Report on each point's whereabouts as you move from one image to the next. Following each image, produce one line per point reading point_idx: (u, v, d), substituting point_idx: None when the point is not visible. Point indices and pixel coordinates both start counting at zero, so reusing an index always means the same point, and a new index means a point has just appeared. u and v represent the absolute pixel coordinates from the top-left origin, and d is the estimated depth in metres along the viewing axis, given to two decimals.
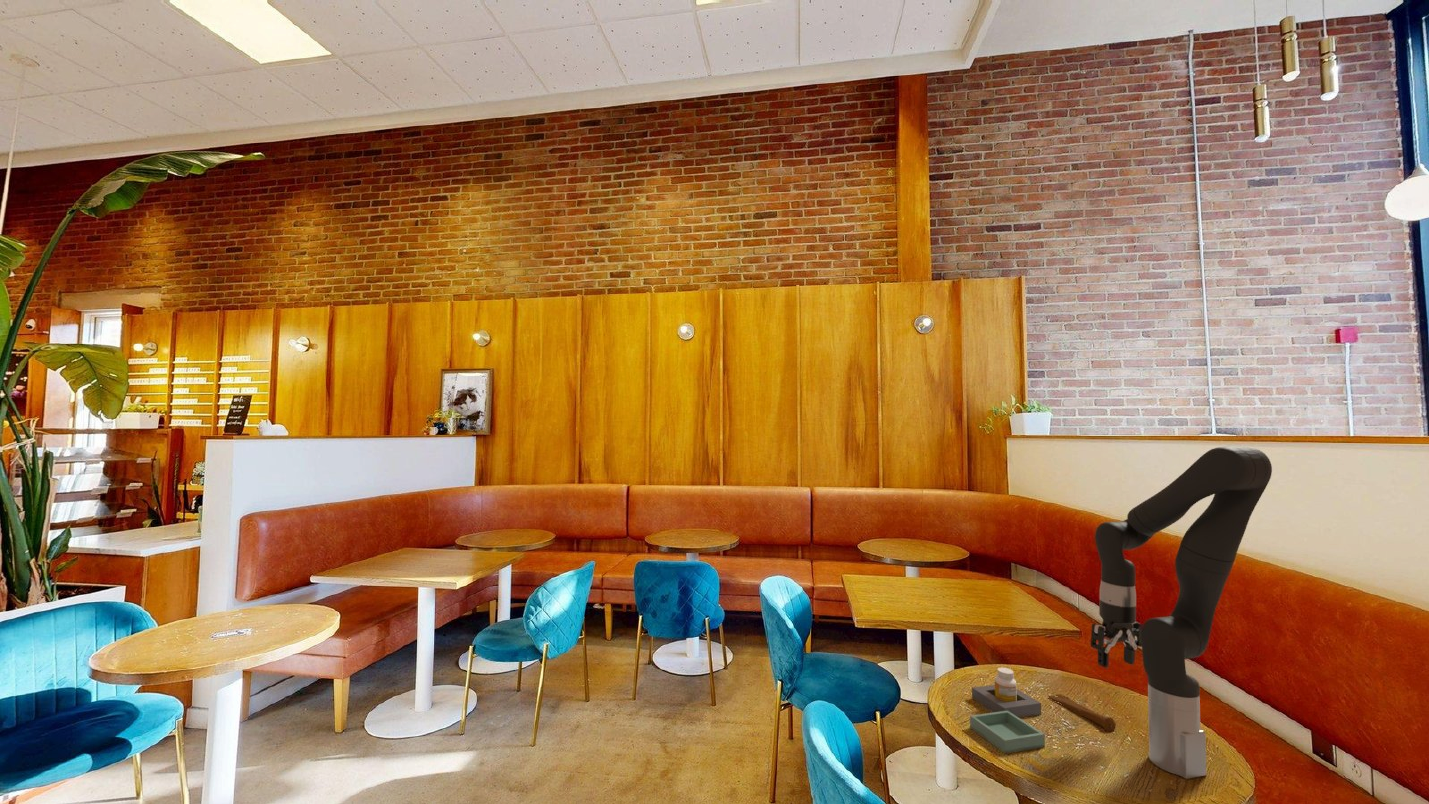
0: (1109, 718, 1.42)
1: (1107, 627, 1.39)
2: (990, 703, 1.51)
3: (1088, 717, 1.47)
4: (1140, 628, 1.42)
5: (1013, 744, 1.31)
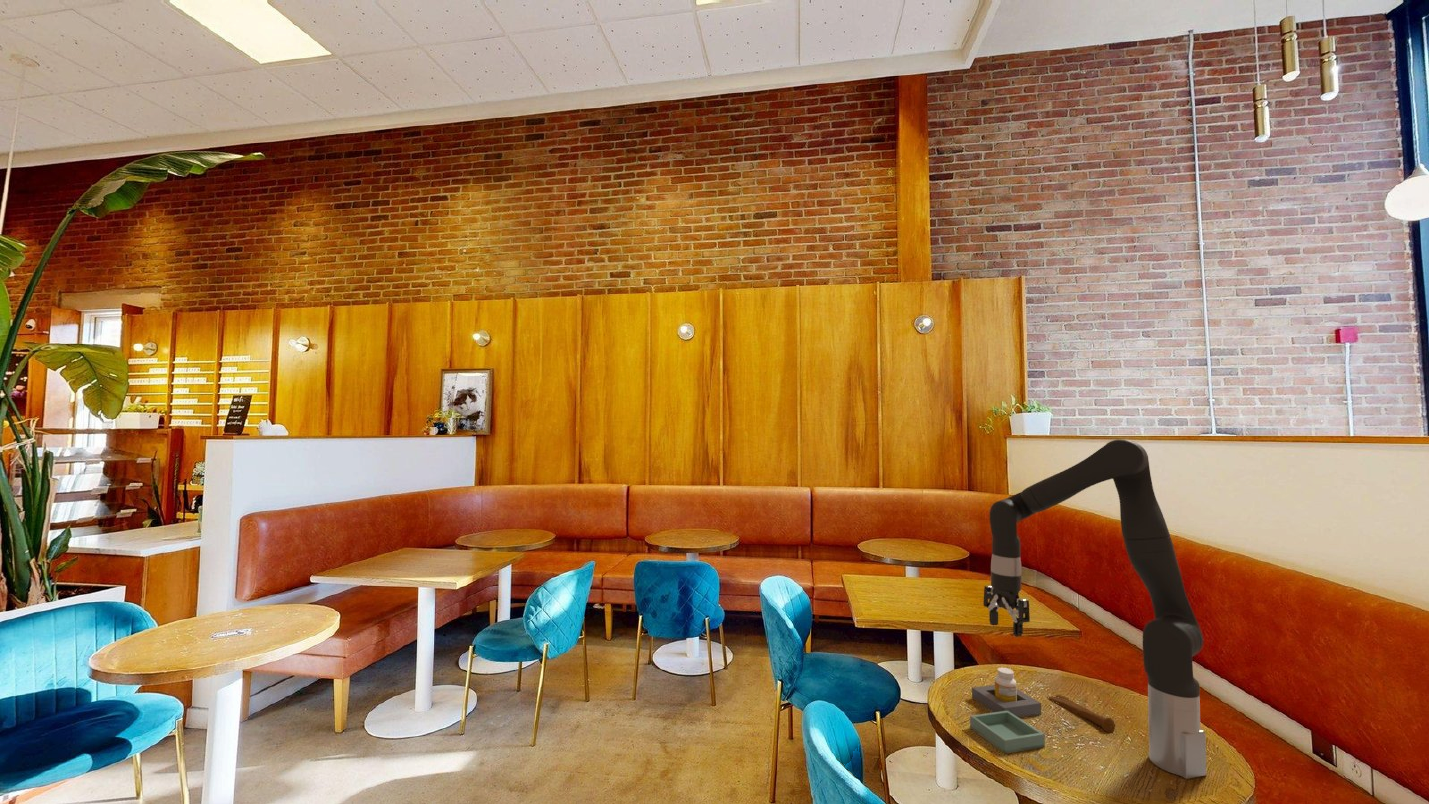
0: (1108, 719, 1.42)
1: (1019, 598, 1.51)
2: (990, 703, 1.51)
3: (1088, 718, 1.47)
4: None
5: (1013, 744, 1.31)
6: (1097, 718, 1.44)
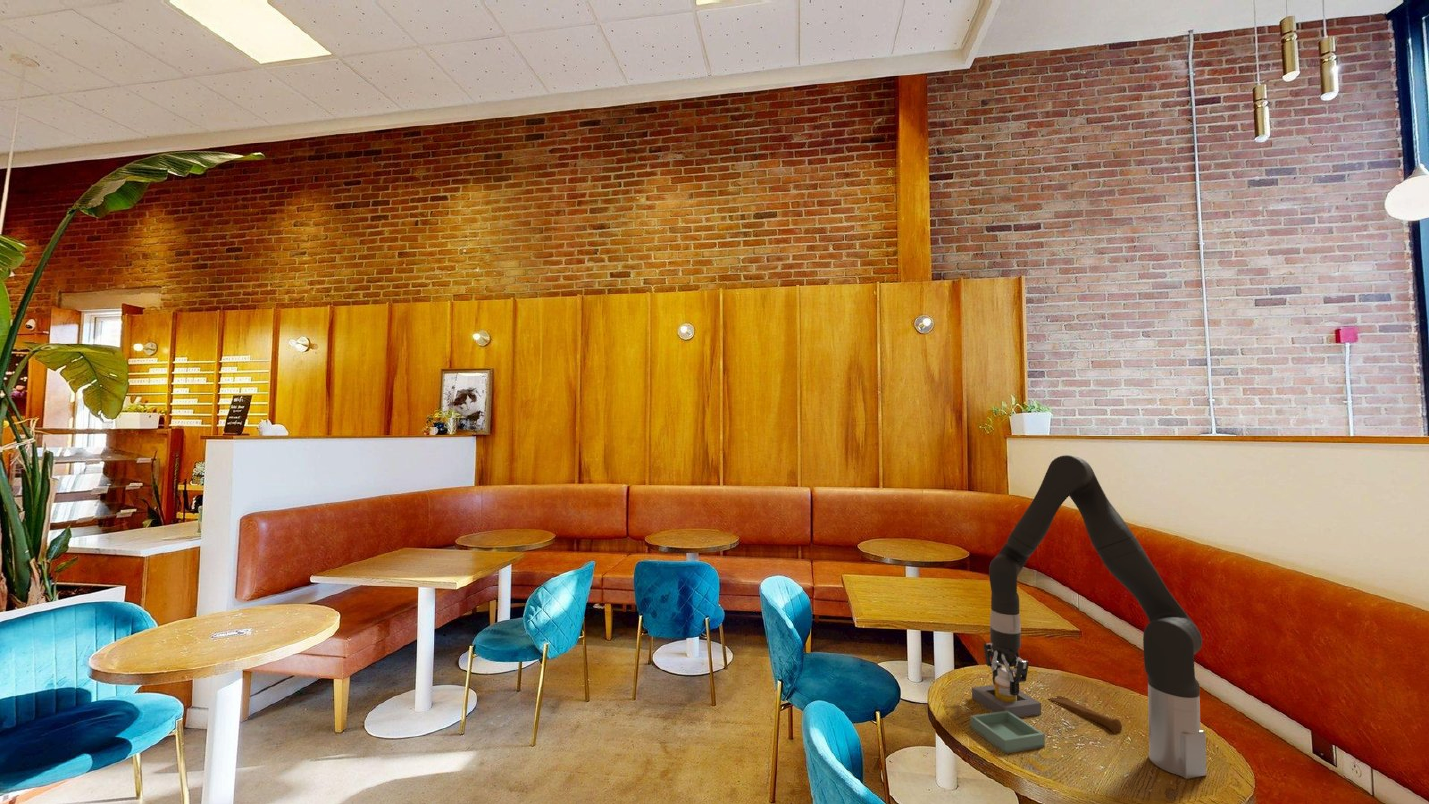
0: (1116, 720, 1.42)
1: (1019, 657, 1.50)
2: (990, 703, 1.51)
3: (1093, 719, 1.46)
4: None
5: (1013, 744, 1.31)
6: (1104, 719, 1.44)
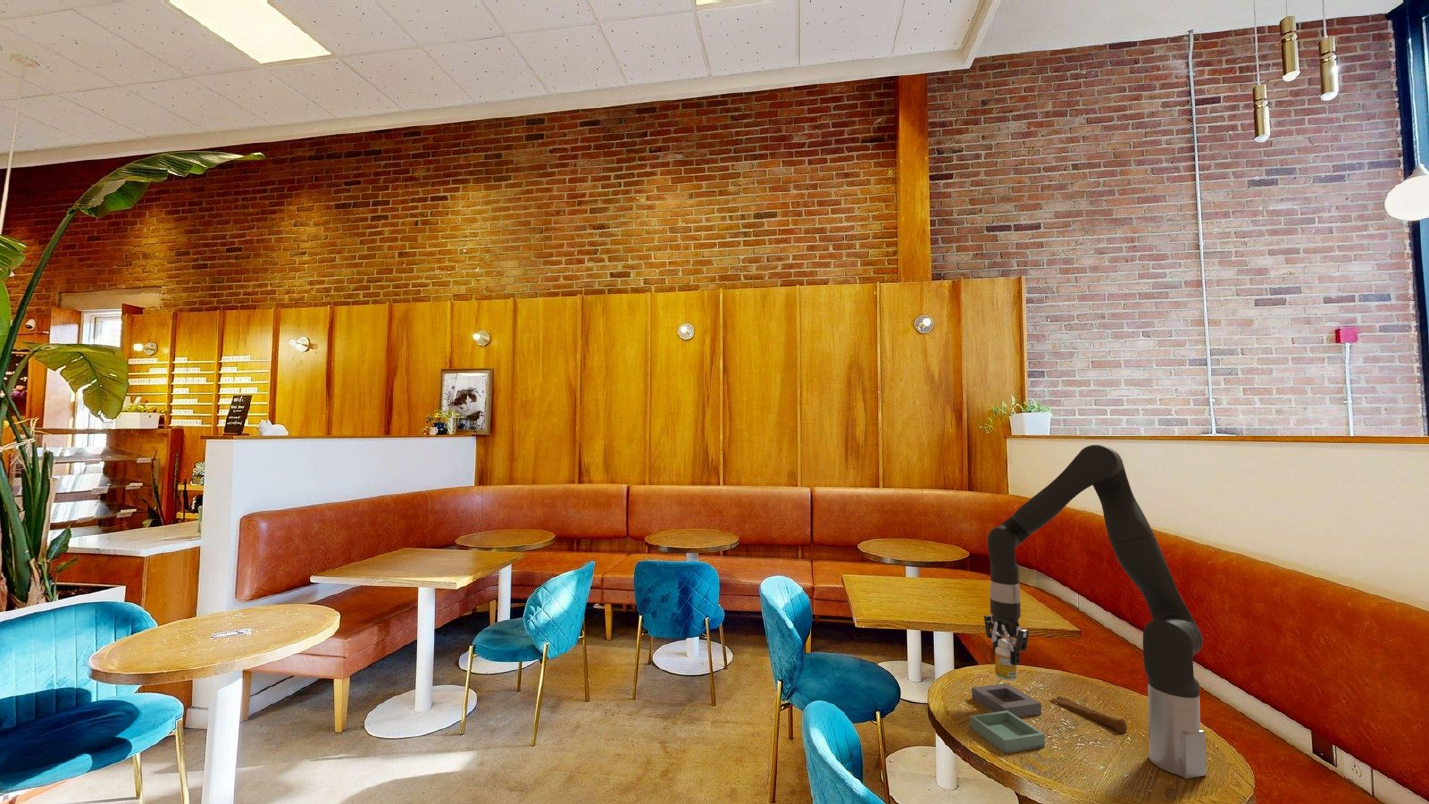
0: (1121, 720, 1.41)
1: (1019, 626, 1.51)
2: (990, 703, 1.51)
3: (1098, 720, 1.46)
4: None
5: (1013, 744, 1.31)
6: (1109, 720, 1.43)
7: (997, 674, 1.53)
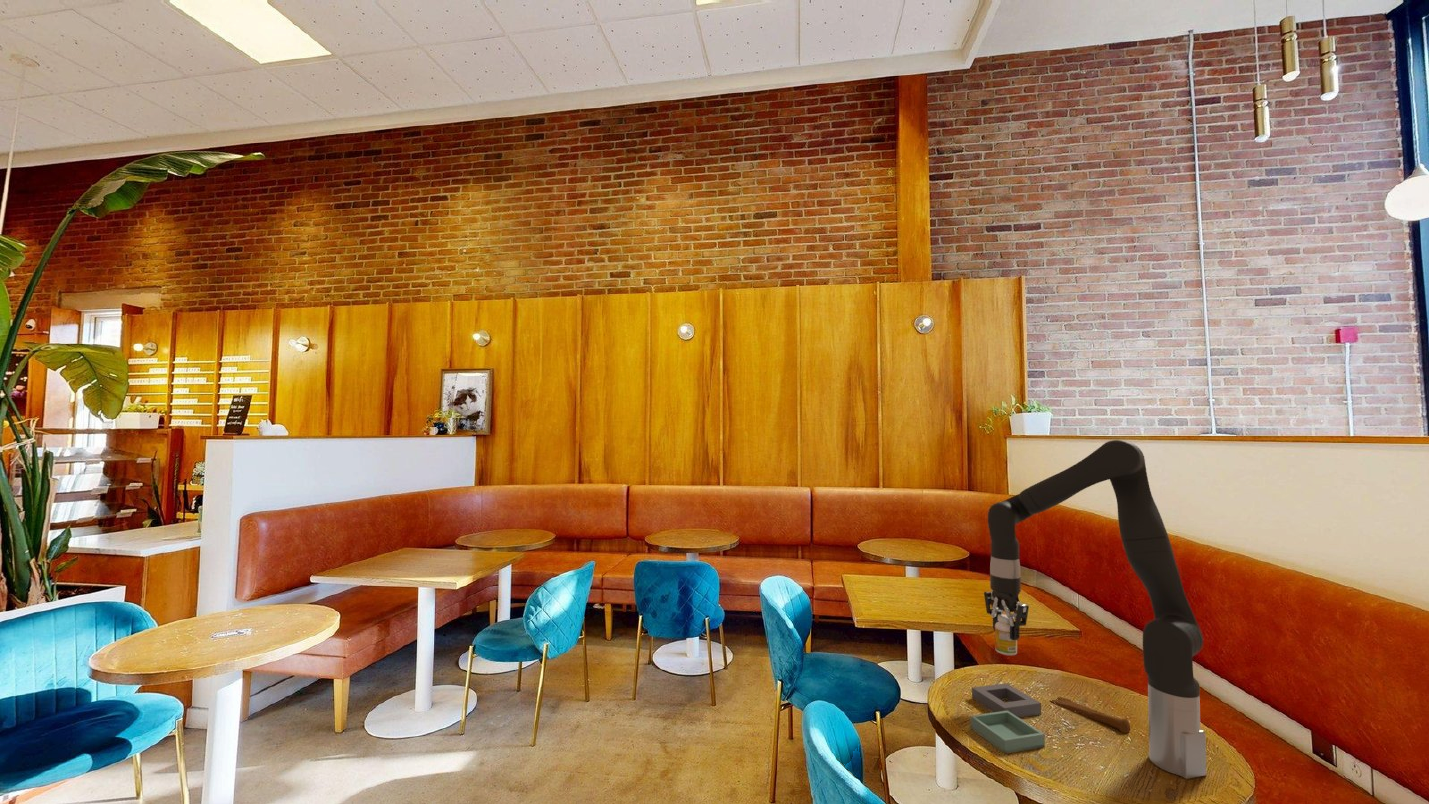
0: (1125, 720, 1.42)
1: (1019, 601, 1.51)
2: (990, 703, 1.51)
3: (1100, 720, 1.46)
4: None
5: (1013, 744, 1.31)
6: (1112, 720, 1.43)
7: (997, 649, 1.54)
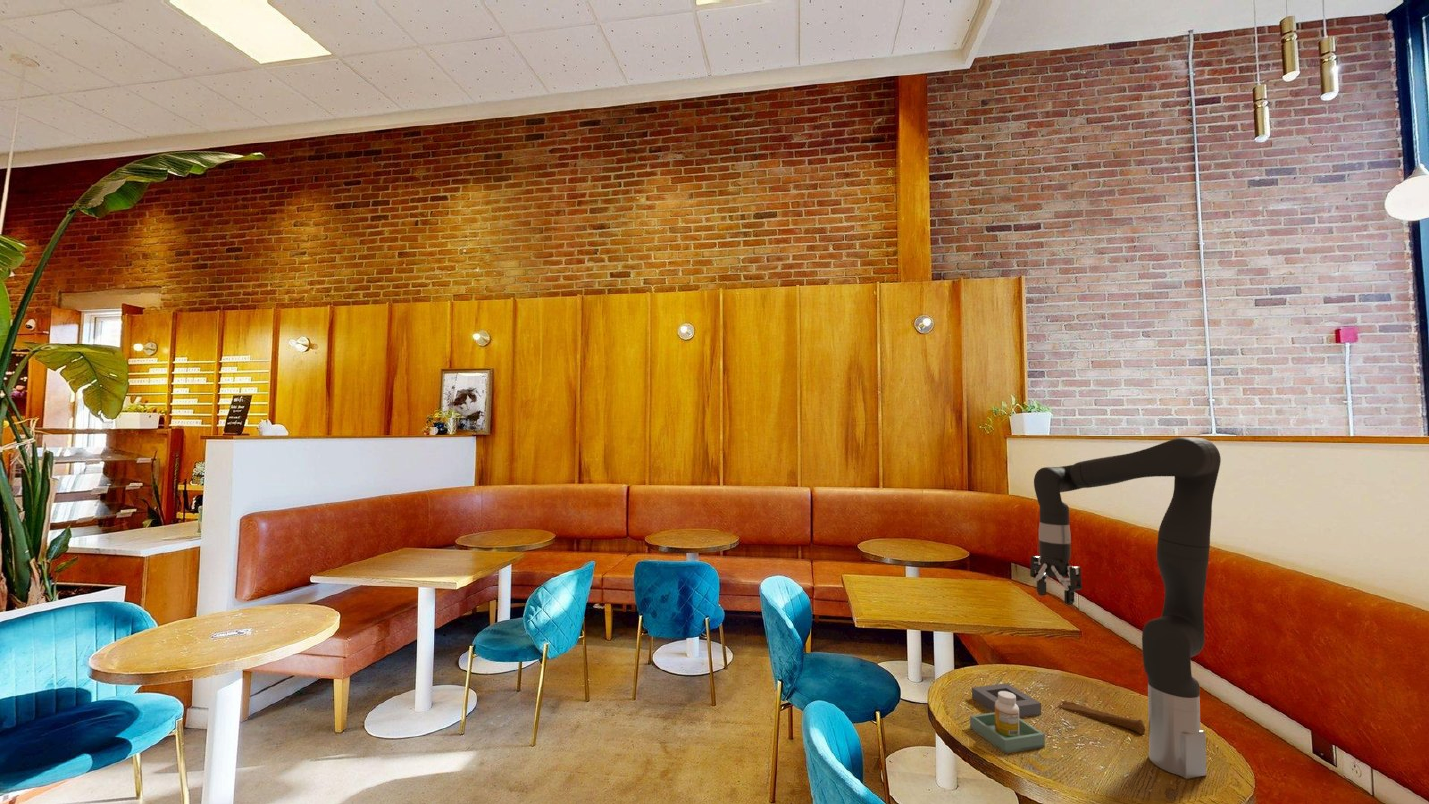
0: (1141, 720, 1.41)
1: (1069, 566, 1.49)
2: (990, 703, 1.51)
3: (1115, 723, 1.44)
4: None
5: (1013, 744, 1.31)
6: (1128, 722, 1.43)
7: (996, 731, 1.37)
